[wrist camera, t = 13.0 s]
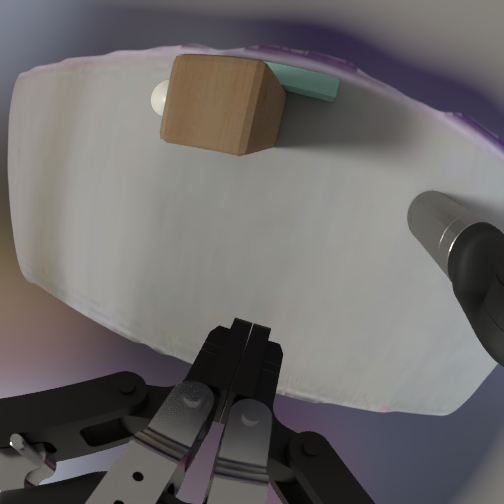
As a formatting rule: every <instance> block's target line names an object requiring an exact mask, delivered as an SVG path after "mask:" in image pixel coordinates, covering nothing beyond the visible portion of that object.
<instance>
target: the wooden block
mask: <svg viewBox="0 0 504 504" xmlns="http://www.w3.org/2000/svg"><path fill="white" fill-rule="evenodd" d="M286 97H287V95H286V91H285V90H284V88H283V87H282V85H281V84H280V82H279V80H278V79H277V77H276V76H275V74H274V73H273V71H272V70H271V68H270V67H269V66H268V64H267V63H265V62H263V61H261V60H257V59H249V58H241V57H232V56H220V55H204V54H183V55H179V56H177V57H176V58H175V60H174V63H173V67H172V71H171V76H170V80H169V85H168V90H167V95H166V100H165V105H164V111H163V116H162V122H161V128H160V138H161V139H163V140H164V141H166V142H167V143H173V144H179V145H185V146H191V147H197V148H202V149H208V150H213V151H218V152H223V153H228V154H233V155H237V156H241V155H247V154H250V153H254V152H257V151H261V150H265V149H268V148H272V147H274V145H275V144H276V140H277V136H278V132H279V127H280V123H281V119H282V114H283V110H284V106H285V102H286Z"/></svg>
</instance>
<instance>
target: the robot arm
mask: <svg viewBox="0 0 504 504" xmlns="http://www.w3.org/2000/svg"><path fill="white" fill-rule="evenodd" d="M408 225H409V228H410V230H411V232H412V234H413V235H414V236H415V237H416V238H417V239H418V241H419V242H420V243H421V244H422V246H423V247H424V248H425V249H426V250H427V252H428V253H429V254H430V255H431V256H432V258H433V259H434V260H435V261H436V263H437V264H438V265H439V267H440V268H441V269H442V270H443V272H444V273H445V274H446V275H447V277H448V278H449V279H450V281H451V282H452V285H453V291H454V294H455V296H456V298H457V300H458V302H459V303H460V305H461V307H462V309H463V311H464V313H465V314H466V316H467V318H468V320H469V322H470V324H471V326H472V328H473V330H474V332H475V334H476V336H477V338H478V339H479V341H480V342H481V344H482V346H483V347H484V348H485V350H486V351H487V352H488V353H489V355H490V356H491V357H492V358H493V359H494V360H495V361H496V362H497V363H499V364H500V365H502V366H503V367H504V234H503V233H502V232H501V231H500V230H499V229H497V228H496V227H494V226H493V225H491V224H490V223H488V222H487V221H485V220H484V219H482V218H481V217H479V216H477V215H476V214H474V213H473V212H471V211H469V210H468V209H466V208H465V207H463V206H461V205H460V204H458V203H456V202H454V201H453V200H451V199H449V198H448V197H446V196H444V195H442V194H440V193H438V192H435V191H427V192H424V193H422V194H420V195H418V196H417V197H416V198H415V199H414V201H413V202H412V204H411V206H410V208H409V211H408ZM251 327H252V323H251V322H248V321H245V320H242V319H238V318H235V319H234V322H233V324H232V326H231V328H230V329H228V328H225V327H222V326H218V327H216V328H215V329H213V330H212V331H211V332H210V333H209V335H208V337H207V339H206V340H205V343H204V344H203V346H202V348H201V350H200V352H199V354H198V356H197V357H196V359H195V361H194V363H193V365H192V367H191V369H190V371H189V373H188V375H187V376H186V378H185V379H184V380H183V381H182V382H180V383H178V384H177V385H175V386H171V387H159V386H151V385H146V383H145V381H144V379H143V378H142V377H140V376H139V375H137V374H136V373H133V372H128V371H123V372H118V373H114V374H111V375H107V376H104V377H100V378H96V379H92V380H88V381H84V382H80V383H76V384H72V385H68V386H64V387H59V388H55V389H50V390H46V391H41V392H36V393H30V394H25V395H20V396H14V397H8V398H2V399H0V490H1V492H0V504H190V503H185V502H183V501H181V500H179V499H178V498H176V495H177V493H178V492H179V490H180V488H181V485H182V483H183V481H184V479H185V476H186V474H187V472H188V470H189V468H190V466H191V464H192V463H193V461H194V459H195V456H196V455H197V453H198V451H199V449H200V447H201V445H202V443H203V441H204V439H205V437H206V435H207V434H208V432H209V430H210V428H211V425H212V422H213V421H215V422H219V420H220V418H221V415H222V412H223V409H224V407H225V404H226V407H225V410H224V413H223V416H222V420H221V423H222V424H225V426H224V429H223V432H222V435H221V438H220V441H219V445H218V449H217V452H216V456H215V460H214V464H213V467H212V472H211V475H210V479H209V482H208V486H207V489H206V492H205V496H204V499H203V503H202V504H266V499H267V492H268V485H269V482H270V484H271V485H272V487H273V489H274V490H275V492H276V494H277V495H278V497H279V498H280V500H281V502H282V503H283V504H375V503H374V501H373V500H372V499H371V498H370V496H369V495H368V494H367V493H366V491H365V490H364V489H363V487H362V486H361V485H360V484H359V482H358V481H357V480H356V478H355V477H354V476H353V474H352V473H351V472H350V470H349V469H348V468H347V467H346V465H345V464H344V463H343V461H342V460H341V459H340V457H339V456H338V454H337V453H336V452H335V450H334V449H333V448H332V446H331V445H330V444H329V442H328V441H327V440H326V438H324V437H323V436H322V435H320V434H318V433H316V432H311V431H305V432H301V433H299V434H298V433H296V432H294V431H293V430H291V429H289V428H287V427H285V426H284V425H282V424H281V423H280V422H279V421H278V420H277V418H276V417H275V415H274V412H273V403H274V398H275V393H276V388H277V384H278V379H279V373H280V369H281V363H282V358H283V352H282V349H281V346H280V344H278V343H275V342H271V341H268V339H269V335H270V331H271V328H268V327H265V326H261V325H258V324H255V323H254V325H253V328H252V331H251V333H250V330H251ZM249 334H250V336H249ZM248 337H249V339H248ZM247 340H248V342H247ZM246 344H247V345H246ZM245 347H246V348H245ZM244 350H245V351H244ZM227 399H228V400H227ZM226 401H227V403H226ZM126 443H128V444H127V445H126V447H125V448H124V450H123V451H122V452H121V454H120V455H119V457H118V458H117V460H116V461H115V462H114V464H113V465H112V466H111V468H110V469H109V471H104V472H103V471H101V472H93V473H89V474H85V475H81V476H78V477H74V478H70V479H67V480H62V481H58V482H54V483H49V484H44V485H39V483H40V482H41V481H42V480H44V479H46V478H49V477H51V476H52V475H53V474H54V473H55V470H56V462H58V461H63V460H67V459H72V458H76V457H80V456H84V455H88V454H92V453H96V452H99V451H103V450H106V449H110V448H113V447H116V446H119V445H123V444H126Z"/></svg>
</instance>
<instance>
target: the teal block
mask: <svg viewBox="0 0 504 504" xmlns="http://www.w3.org/2000/svg"><path fill="white" fill-rule="evenodd" d="M181 55H183V54H181ZM263 62H264V61H263ZM265 63H267V64H268V66H269V67H270V68H271V70H272V71H273V73H274V74H275V76H276V77H277V79H278V80H279V82H280V84H281V85H282V87H283V88H284V90H285V91H289V92H293V93H298V94H302V95H306V96H310V97H314V98H317V99H321V100H325V101H328V102H332V103H333V102H334V100H335V98H336V95H337V91H338V86H339V82H340V79H339V78H336V77H332V76H329V75H325V74H321V73H317V72H313V71H309V70H305V69H301V68H296V67H291V66H286V65H281V64H276V63H270V62H265Z"/></svg>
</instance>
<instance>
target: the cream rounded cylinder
mask: <svg viewBox="0 0 504 504" xmlns="http://www.w3.org/2000/svg"><path fill="white" fill-rule="evenodd" d="M169 80H170V79H169ZM169 80H165V81H163V82H161V83H160V84H158V85H157V86H156V88H155V89H154V91H153V93H152V97H151V103H152V107H153V109H154V110H155V112H156V113H158V114H159V115H162V116H163V111H164V105H165V100H166V95H167V90H168V85H169Z"/></svg>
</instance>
